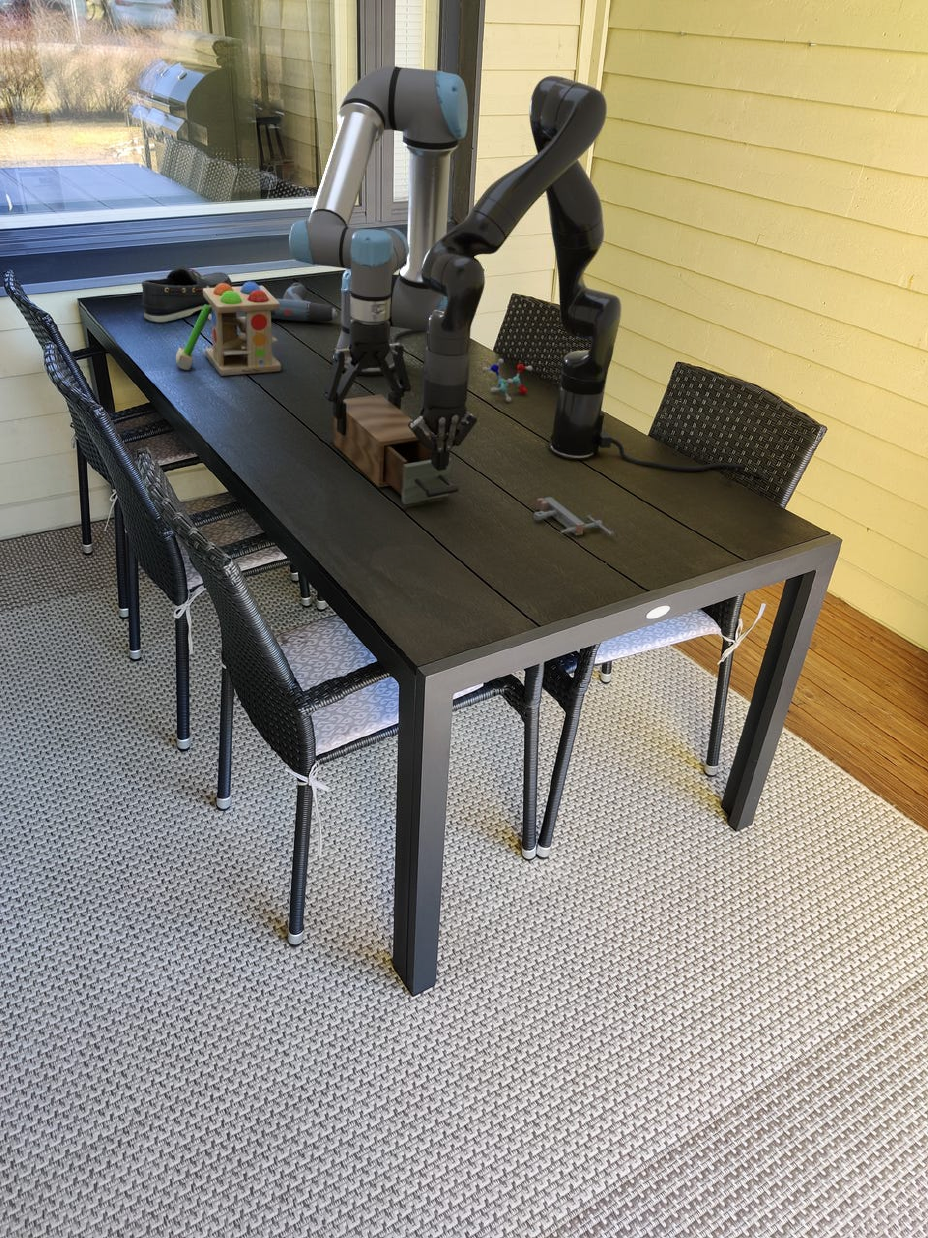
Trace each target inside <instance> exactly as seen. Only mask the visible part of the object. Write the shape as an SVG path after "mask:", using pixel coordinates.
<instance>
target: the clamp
mask: <svg viewBox="0 0 928 1238" xmlns="http://www.w3.org/2000/svg"><path fill="white" fill-rule="evenodd" d="M536 500H537V501H536V505H535V510H539V511H536V512H534V513H533V519H534V520H536V521H543V520H547V518H548V517H549V518H550V517H553V518H554V519H555V520H556V521H557V522H558V523H560V524H561V525H563V526H564V527H565V529H561V530H560V532H559V533H560V534H568V533H569V534H570V533H572V534H574V535H575V536H582V535H583V534H584V530H587V529H591V528H594V529H598V528H600V529H601V530H603V531H604V532H605V533H606V534H607V535H608V536H609V537H613V536H614V535H615V533H614V531H611V530H609V529H608V528H606V527H605V526H603V521H602V520H601V519H598V520H595V518H593V517H592V515H590V514H588V515H587V516H586V520H587V521H591V522H590V523H585V522H584V521H582V520H581V519H580V518H579V517H577V516H576V515H574V514H573V513H572V512H571V511H569V510H568V509H567V508H566V507H564V506H563V505H562V504H560V503H559V502H558V501H556V499H554V498H553V497H551V496H549V497H545V498H543V497H540V498H537V499H536Z"/></svg>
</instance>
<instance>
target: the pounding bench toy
mask: <svg viewBox="0 0 928 1238" xmlns="http://www.w3.org/2000/svg"><path fill="white" fill-rule="evenodd" d="M203 296H204V297H205V299H206V300H207V301H208V302H209V304H210V305H211V307H210V306H208V305H204V307H203V309H201V312H200V313H199V316H198V318H197V320H196V322H195V324H194V327H193V329H192V331H191V332H190V333H191V334H190V336H189V338H188V340H187V343H186V344H185V347H184V348H182V347H180V346H179V347H178V349H177V351H176V354H175V357H174V358H175V362H176V365H177V366H178V368H179V369H182V370H185V371H189V370H190V369H191V367H192V365H193V363H194V356H193V351H194V348H195V347H196V345H197V342H198V340H199V337H200V336H201V333H202V332H203V329H204V326H205V325H206V322H207V320H209V321H210V322H211V336H212V337H211V338H212V339H211V340H212V348H205V349H204V352H205V353H204V355H205V357H206V359H208V361H209V363H210V364H211V365H212V366H213V367H214V369H215V370H216V371H217V372H218V374H219V375H220V376H222V377H223V376H234V375H235V376H236V375H246V374H247V375H250V374H262V373H275V372H281V370H282V364H281V363H280V362H279V360H278V359H277V358H276V357H275V356H274V355H273V348H272V347H273V345H272V344H276V343H278V342H279V341H278V339H277V338H276V337H275V336H274V334H272V318H271V310H280V303H279V302H278V301H277V300H276V299H277V298H276V297H274V296H273V295H272V294H271V293H270V292H269V290H268V289H267V288H266V287H264V285H259V284H257V283H256V282H255V281H247V282H245V283H244V284H243V285H242V286H233V287H231V286H230V285H228V284H226V283H221V284H218V285H217V286H216V287H215V288H204V289H203ZM238 313H244V314H245V315H244V316H238ZM238 329H239V331H240V333H239V334H238Z"/></svg>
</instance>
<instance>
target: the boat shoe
mask: <svg viewBox="0 0 928 1238" xmlns="http://www.w3.org/2000/svg"><path fill="white" fill-rule="evenodd" d="M221 283H226V284H228V285H230V286H231V287H234V286H233V282H232V278H230V276H229V275H228V274H227V273H226V272H222V271H221V272H213V273H212V272H211V273H207V274H203V275H201V273H199V272H198V271H197V270H195V269H194V268H189V267H185V266H178V267H176V268H174V269H172V270H171V271H170V272H169V273H168V274H167V276H166V277H165V278H159V279H144V280H142V281H141V287H142V303H141V307H142V308H144V310H143V314H144V315H143V316H144V319H145V320H148V321H149V322H154V323H166V322H171V321H175V320H178V319H182V318H186V317H189V316H191V315H193V314H194V313H196V312H199V311H200V310H201V311H202V309H203V307H204V305H208V306H210V307H211V305H210V304H209V302H208V301H207V300H206V299H205V297H204V296H203V289H204V288H215V287H216V286H217V285H218V284H221Z"/></svg>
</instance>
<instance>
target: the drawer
mask: <svg viewBox="0 0 928 1238" xmlns="http://www.w3.org/2000/svg"><path fill="white" fill-rule="evenodd" d="M431 455H432V451H430V450H428V449H427V448H426V447H425V446H424V445H423V444H422V443H421V442H420V441H419V440H416V441H410V442H403V443H397V444H391V445H385V446H384V465H383V478H384V479H385V480H386V481H387V482H388V483H389V484H390V486H391V487H392V488H393V489H394V491H396V492H397V493H398V494H399V495H400V496H401V502H402V503H403V504H404V505H408V504H413V503H419V502H423V501H428V500H429V501H430V500H434V499H440V498H445V497H449V494H454V493H458V492H459V485H458V484H457V483H452V482H451V480H450V479H451V468H452V467H451V466H452V459H451V458H450V457H449V464H448V466H446V470H442V471H437V470H436V469H435V468H434V467H433V466H432V464H431Z"/></svg>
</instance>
